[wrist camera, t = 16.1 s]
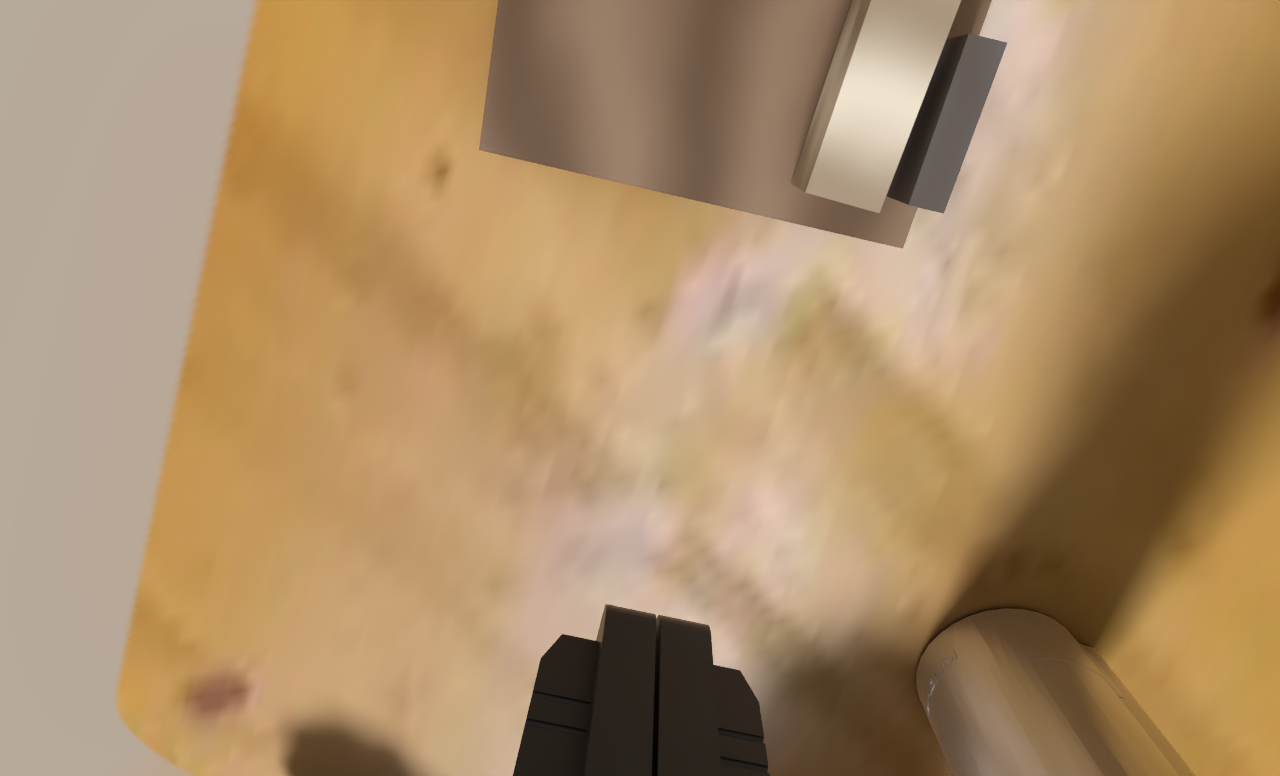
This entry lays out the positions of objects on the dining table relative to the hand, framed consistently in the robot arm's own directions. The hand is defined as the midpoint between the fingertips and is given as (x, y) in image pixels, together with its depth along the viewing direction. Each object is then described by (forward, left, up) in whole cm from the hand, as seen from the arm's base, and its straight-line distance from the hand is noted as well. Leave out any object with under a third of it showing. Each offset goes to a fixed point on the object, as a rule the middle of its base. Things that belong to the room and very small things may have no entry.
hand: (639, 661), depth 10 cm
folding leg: (-6, -13, -24) cm, 28 cm away
